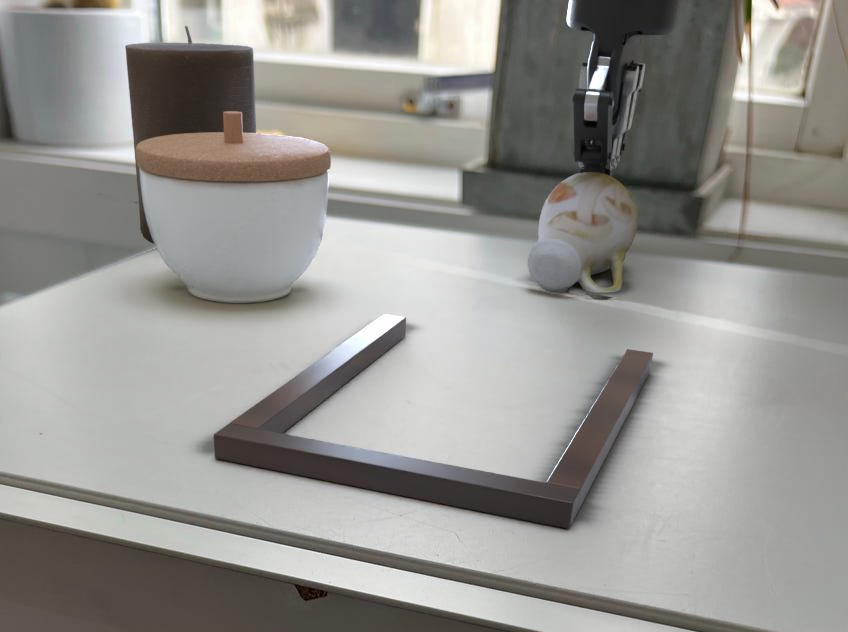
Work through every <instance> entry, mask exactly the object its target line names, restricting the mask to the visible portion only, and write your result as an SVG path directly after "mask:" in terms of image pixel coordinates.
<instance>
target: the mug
mask: <svg viewBox="0 0 848 632" xmlns="http://www.w3.org/2000/svg"><path fill="white" fill-rule="evenodd" d="M638 225H639V211H638V207H637V204H636V202H635V200H634V198H633V196H632V194H631V192H630V191H629V190H628V189H627V188H626V187H625V185H623V184H622V183H621V182H620V181H619V180H618V179H616V178H614V177H611V176H609V175H606V174H603V173H597V172H583V173H580V172H577V173H574V174H572V175H570V176H568V177H567V178H565V179H564V180H562V181H560V182H559V183H558V184H557V185H556V186H555V187H554V189H552V191H550V193H549V195H548V196H547V198H546V199H545V201H544V203H543V205H542V208H541V211H540V216H539V219H538V237H537V238H538V239H537V240H536V242H535V243H534V244H533V245H532V247H531V249H530V251H529V253H528V256H527V269H528V273H529V274H530V277H531V279H532V280H533V281H534V283H536V285H538V286H539V287H540V288H542V289H543V290H546V291H547V292H552V293H562V292H564V291H567V290H569V288H572V287H573V286H574V285H575V284H576V283H578V284H579V285H580V287H581V288H582V290H584V291H585V293H586V295H587V296H588V297H590V298H592V299H595V300H609V299H612V298H613V297H612V296H607V295H603V293H604V294H605V293H614V292H618V291H621V290H622V289H623V286H624V279H623V278H624V277H623V276H624V275H623V272H624V261H625V259H626V254H627V252H628V251H629V249H630V248H631V246H632V244H633V242H634V240H635V237H636V234H637V232H638ZM609 269H610V271H611V277H612V286H608V287H603V286H600V285H599V284H597V283H595V282H594V280H593V279H592V277H591V276H592V275H597V274H601V273H603V272H606V271H607V270H609ZM598 293H600V294H598ZM601 293H602V294H601Z"/></svg>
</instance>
